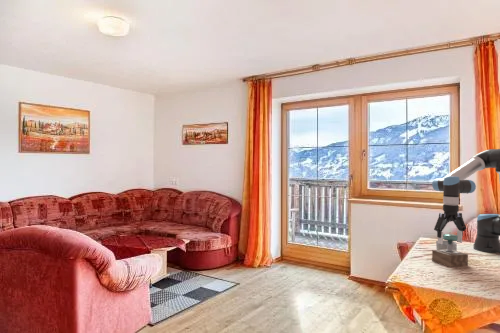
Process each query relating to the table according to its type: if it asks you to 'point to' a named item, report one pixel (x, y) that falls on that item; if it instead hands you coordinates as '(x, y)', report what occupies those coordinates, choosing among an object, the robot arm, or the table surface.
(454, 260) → the block
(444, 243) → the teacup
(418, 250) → the table surface
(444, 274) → the table surface
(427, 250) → the table surface
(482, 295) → the table surface
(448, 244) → the teal rounded knob
